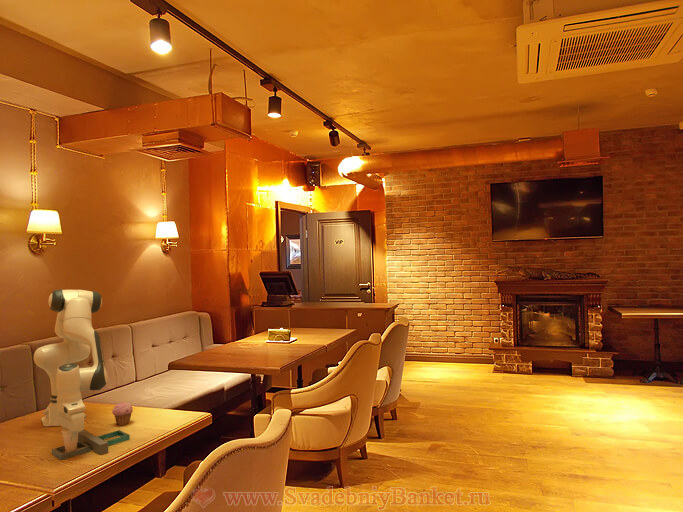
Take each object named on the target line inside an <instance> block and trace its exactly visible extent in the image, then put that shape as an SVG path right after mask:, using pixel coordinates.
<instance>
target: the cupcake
mask: <svg viewBox="0 0 683 512" xmlns="http://www.w3.org/2000/svg"><path fill="white" fill-rule="evenodd" d="M133 410H134V409H133V406H132V404H131V403H130V402H121V403H117V404H116V405H114V407H113V409H112V410H111V411H112V415H113V416H114V419H115V423H116V425H119V426H126V425H127V424H129V423H130V421H131V416H132V413H133Z"/></svg>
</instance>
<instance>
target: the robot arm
mask: <svg viewBox="0 0 683 512" xmlns="http://www.w3.org/2000/svg"><path fill="white" fill-rule="evenodd" d="M47 301H48V303H47V304H48V306H49V309H50V310H51V311H52V312H55V313H57V315H56V320H55V325H54V326H55V327H54V333H55V334H56V336H57V337H59V338H62V339H63V341H61V342H58V343H57V342H56V343H51V344H47V345H43V346H40V347H38V348H36V350H35V352H34V353H33V361H34V364H35V365H36V366H37V367H39V368H41V369H42V370H44V371H45V372H46V374H47V376H48V377H49V380H50V389H51V394H50V397H49V402H50V403H49V404H48V405H47V407H46V409H45V410H43V411H42V413H43V416H44V417H41V423H42V426H43V427H45V428H46V427H58V426H61V427H62V429H64V428H67V429H68V430H70V431H71V433H72V436H71V441H76V440H77V435H78V432H80V431H83V430H85V418H86V417H87V414H86V413H85V412H84V411H86V405H85V404H84V402H83V398H82V397H83V396H82V392H83V391H100V390H102V389H103V388H104V387H106V386H107V384H108V380H109V377H108V375H109V374H108V372H107V369H106V365H105V358H104V351H103V345H102V340H101V337H100V334H99V332H98V331H97V330H95V329H94V328H93V326H92V325H93V323H92V319H93V318H92V314H95V313H98V312H99V311H100V309H101V308H102V305H103V298H102V295H101V294H100V292H99V291H94V290H92V291H90V290H85V289H62V288H61V289H55V290H53V291H52V292H51V294H50V295H49V297H48V300H47ZM90 355H92V362H93V365H92V366H90V367H80V366H79V364H77V363H79V362H82V361H84V360H86V359H88V358H89V356H90Z"/></svg>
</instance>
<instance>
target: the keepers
mask: <svg viewBox="0 0 683 512" xmlns="http://www.w3.org/2000/svg"><path fill="white" fill-rule="evenodd" d="M114 436H115V438H114ZM97 437H98V438H100V439H102V440H104V439H105V440H104V441H106V442H108V447H109V446H112V445H113V446H114V445H117V444H119V443H122V442H126V441H129V440H130V439H131V438H130V437H131V436H130V434H129V433H127V432H124V431H122V430H120V429H118V430H114V431H111V432H108V433H105V434H101V435H97ZM111 437H112V438H111ZM107 438H108V439H107ZM89 452H91V449H90V446H89V445H87V444H85V443H84V442H82V441H77V450H73V451H70V452H67V453H66V451H65V445H64V444H63V445H61V446H58V447H54V448H51V455H52V456H54V457H56V459H58V460H60V461H63V460H66V459H70V458H73V457H76V456H79V455H83V454H86V453H89Z"/></svg>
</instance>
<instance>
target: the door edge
mask: <svg viewBox="0 0 683 512" xmlns="http://www.w3.org/2000/svg"><path fill="white" fill-rule="evenodd" d="M97 436H98V435H97ZM97 436H96V435H94V434H93V433H91V432H90V431H87V430H85V429H83V431H80V432H78V441H82V442H84V443H85V444H87V445H89V446H90V451H91V450H92V451H93V452H95V453H97V454H99V456H102V455H105V454H108V453H109V446H108V442H106V441H107V440H102V439H100V438H98V437H97ZM78 441H77V442H78Z"/></svg>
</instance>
